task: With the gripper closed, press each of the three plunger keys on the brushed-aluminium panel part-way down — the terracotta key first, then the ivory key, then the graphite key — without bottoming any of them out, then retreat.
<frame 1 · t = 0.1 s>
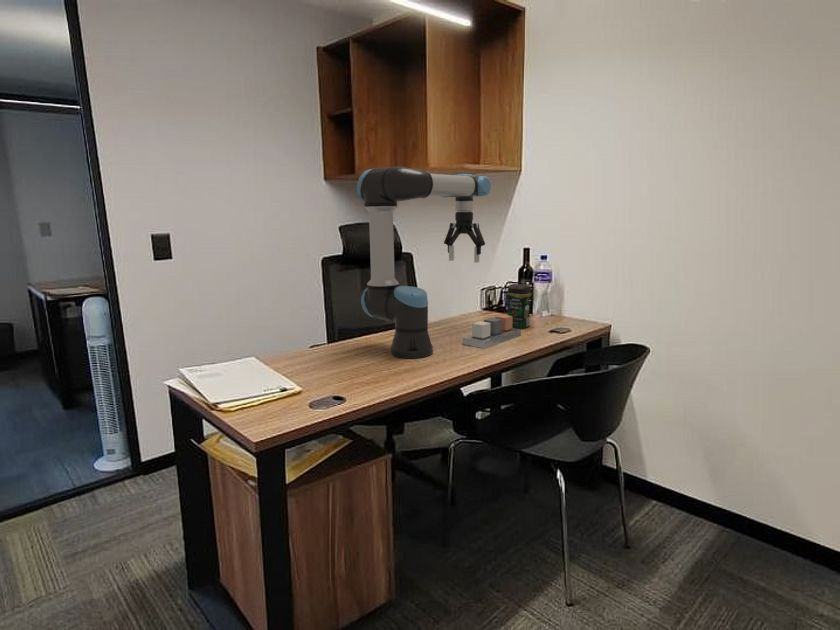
hand: (463, 261, 224), 28 cm above the table, fingers open, 13 cm apart
panel: (492, 339, 203), on the table
key terracotta: (503, 322, 207), point 6 cm above the table, slide at 0.0 cm
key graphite: (492, 325, 201), point 6 cm above the table, slide at 0.0 cm
key ivory: (481, 329, 196), point 6 cm above the table, slide at 0.0 cm
coffee jar: (518, 327, 224), on the table
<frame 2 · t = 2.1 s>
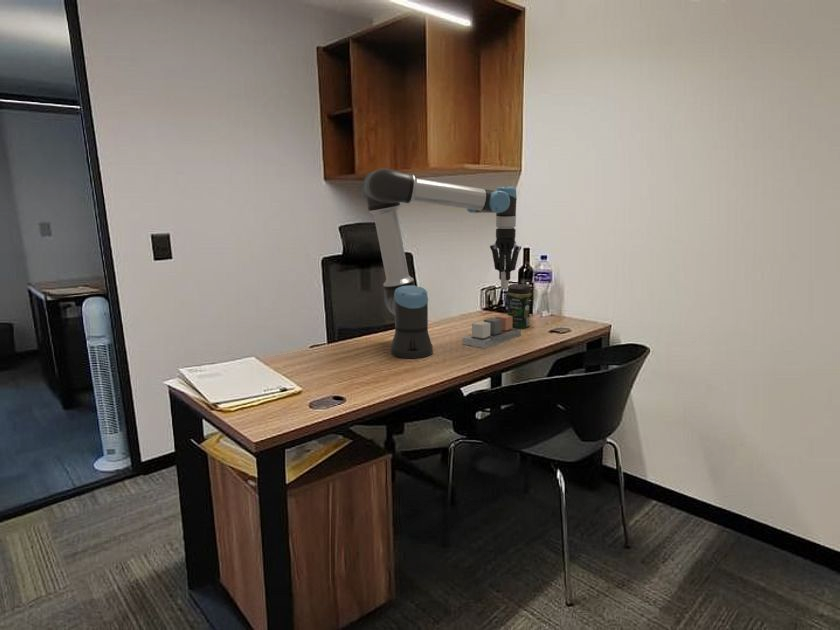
hand: (504, 288, 205), 19 cm above the table, fingers closed
nothing on the table moved.
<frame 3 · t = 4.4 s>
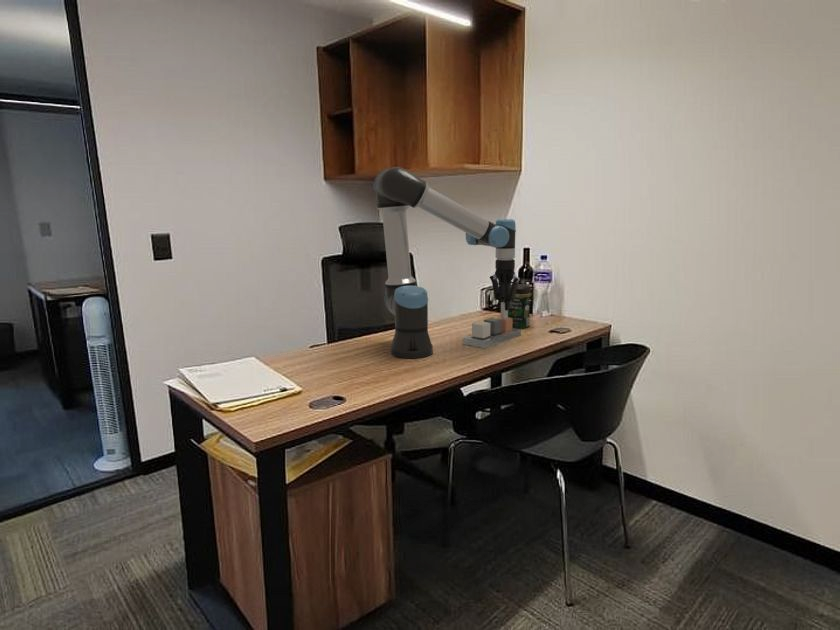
hand: (504, 317, 207), 7 cm above the table, fingers closed
key terracotta: (503, 324, 208), point 5 cm above the table, slide at 0.9 cm, touching gripper
everything else where it was.
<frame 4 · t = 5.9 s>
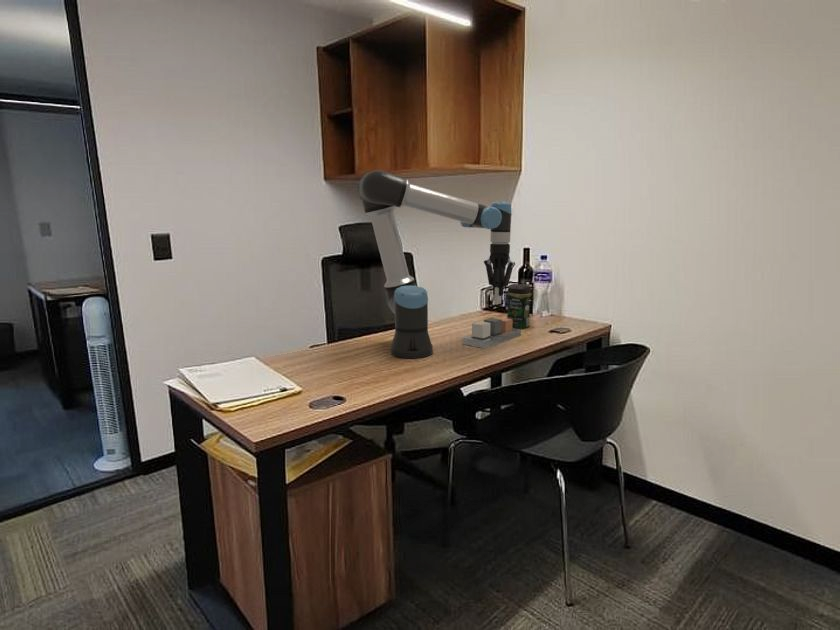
hand: (497, 303, 203), 14 cm above the table, fingers closed
key terracotta: (503, 325, 208), point 4 cm above the table, slide at 1.3 cm
everything else where it was.
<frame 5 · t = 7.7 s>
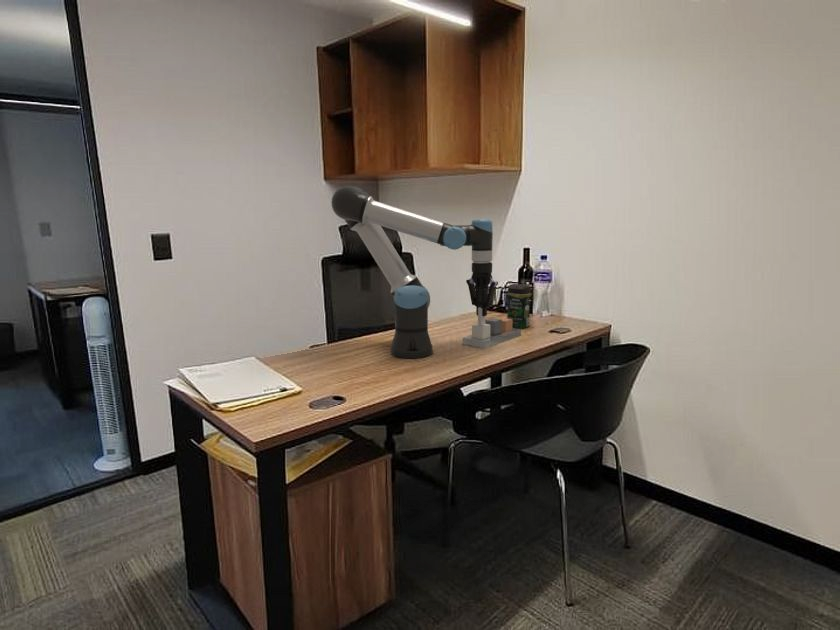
hand: (481, 324, 195), 8 cm above the table, fingers closed
key ivory: (481, 331, 196), point 5 cm above the table, slide at 0.7 cm, touching gripper
everything else where it was.
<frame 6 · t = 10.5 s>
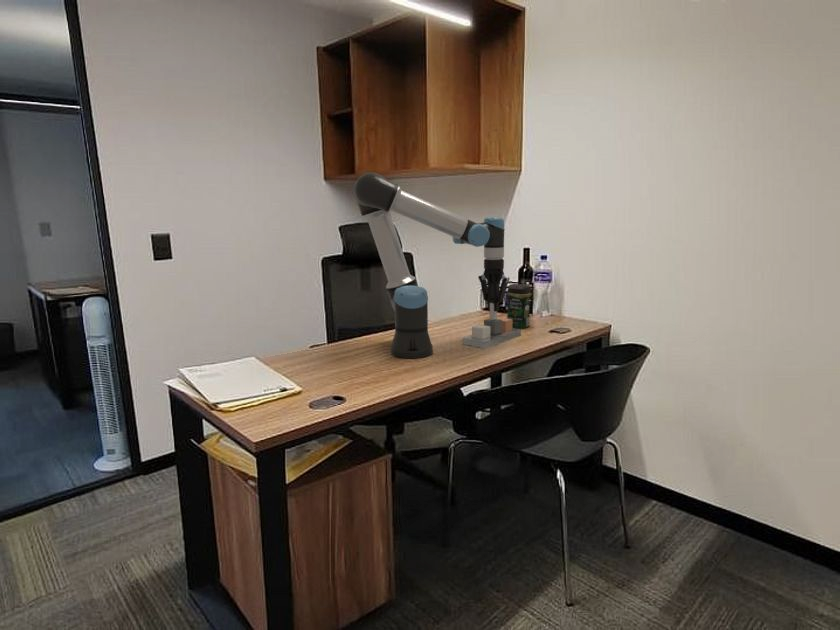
hand: (493, 319, 201), 8 cm above the table, fingers closed
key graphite: (492, 326, 201), point 5 cm above the table, slide at 0.1 cm, touching gripper
key ivory: (481, 332, 196), point 4 cm above the table, slide at 1.3 cm
everything else where it was.
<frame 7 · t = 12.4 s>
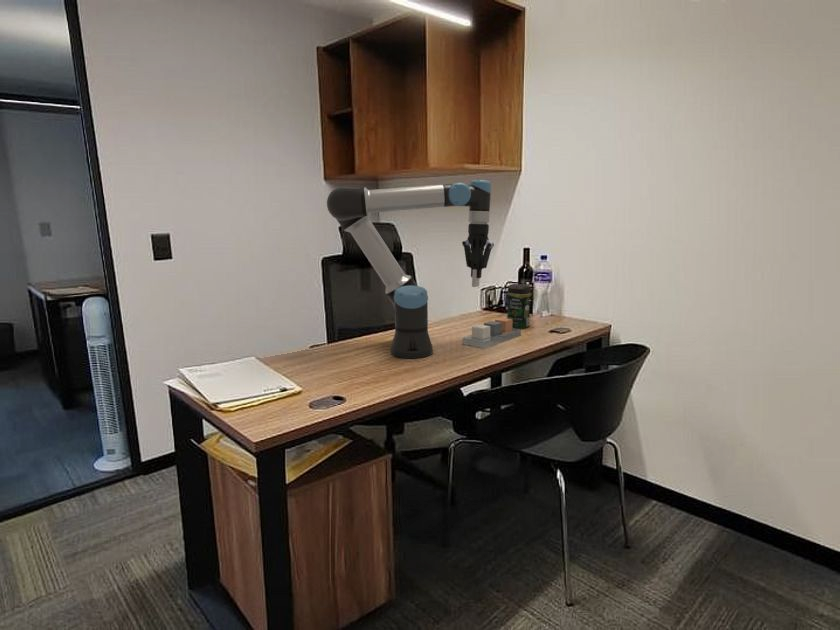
hand: (475, 286, 196), 22 cm above the table, fingers closed
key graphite: (492, 329, 202), point 4 cm above the table, slide at 1.3 cm
everything else where it was.
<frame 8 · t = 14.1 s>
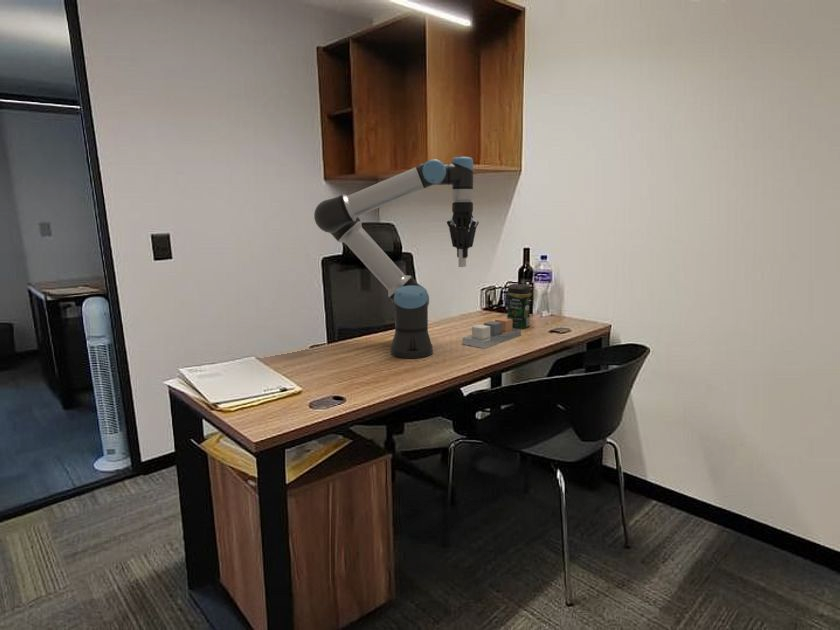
hand: (462, 266, 192), 29 cm above the table, fingers closed
nothing on the table moved.
at the end: key terracotta slide at 1.3 cm; key ivory slide at 1.3 cm; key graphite slide at 1.3 cm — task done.
